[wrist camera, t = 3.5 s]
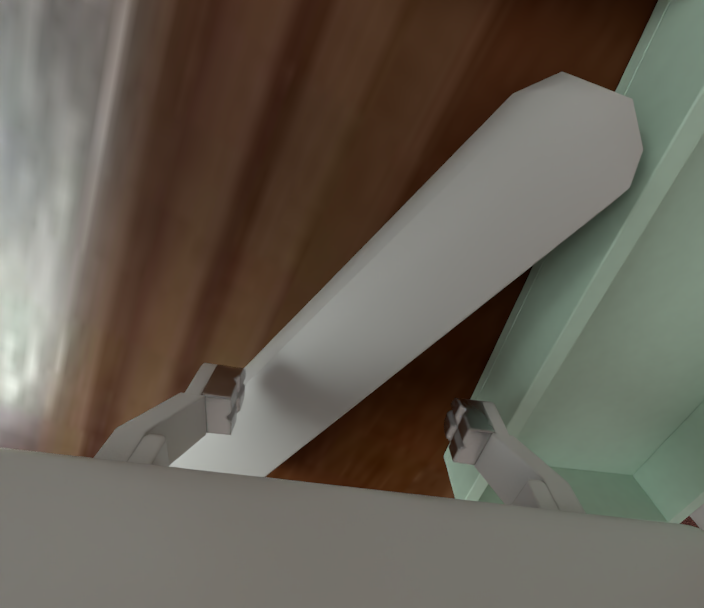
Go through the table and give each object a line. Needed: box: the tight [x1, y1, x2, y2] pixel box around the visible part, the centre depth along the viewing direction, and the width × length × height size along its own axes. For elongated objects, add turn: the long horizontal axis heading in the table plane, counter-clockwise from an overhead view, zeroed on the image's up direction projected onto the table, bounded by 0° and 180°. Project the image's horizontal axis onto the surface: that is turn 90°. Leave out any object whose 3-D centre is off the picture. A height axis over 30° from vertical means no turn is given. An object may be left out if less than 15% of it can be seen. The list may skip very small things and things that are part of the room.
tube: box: [169, 72, 643, 477], centre depth 15 cm, size 5×5×25 cm
